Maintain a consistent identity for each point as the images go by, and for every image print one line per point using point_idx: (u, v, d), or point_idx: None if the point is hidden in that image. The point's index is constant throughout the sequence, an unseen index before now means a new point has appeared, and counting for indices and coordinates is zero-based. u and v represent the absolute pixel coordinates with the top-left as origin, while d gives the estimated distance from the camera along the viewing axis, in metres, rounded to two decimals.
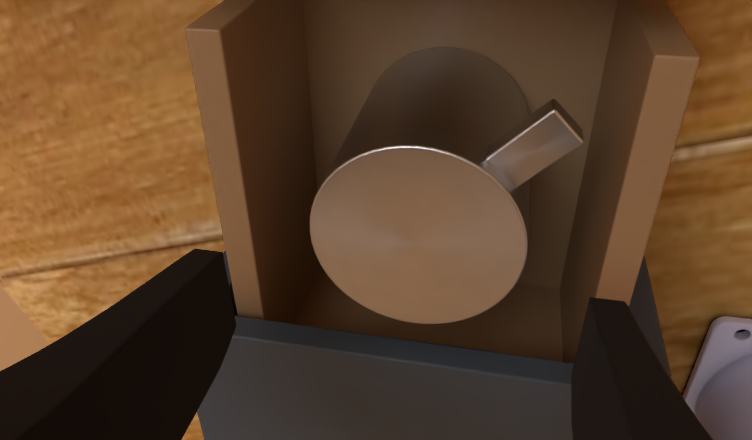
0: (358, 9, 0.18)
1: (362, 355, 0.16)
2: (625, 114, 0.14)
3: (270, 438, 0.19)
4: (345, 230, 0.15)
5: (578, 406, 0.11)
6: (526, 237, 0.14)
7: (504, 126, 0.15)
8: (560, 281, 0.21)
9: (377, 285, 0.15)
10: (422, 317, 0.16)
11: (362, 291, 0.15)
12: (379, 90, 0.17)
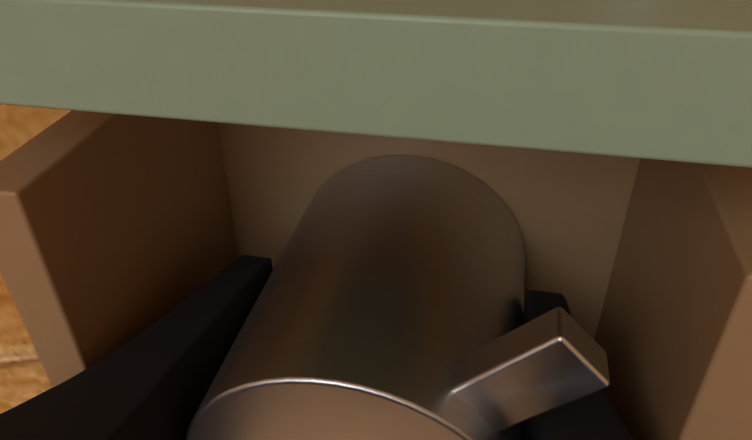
0: None
1: None
2: (678, 318, 0.08)
3: None
4: None
5: None
6: None
7: (483, 302, 0.10)
8: None
9: None
10: None
11: None
12: (308, 226, 0.12)
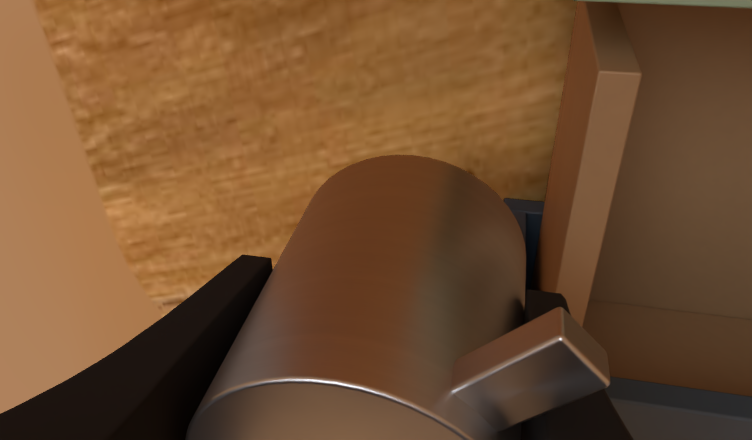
0: (669, 39, 0.17)
1: (712, 414, 0.15)
2: None
3: None
4: None
5: None
6: None
7: (483, 302, 0.10)
8: None
9: None
10: None
11: None
12: (309, 225, 0.12)
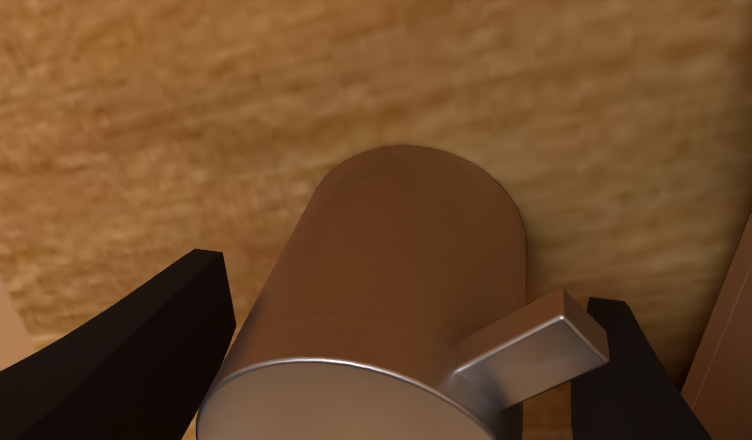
0: None
1: None
2: None
3: None
4: None
5: (578, 406, 0.11)
6: None
7: (485, 287, 0.10)
8: None
9: None
10: None
11: None
12: (314, 214, 0.12)
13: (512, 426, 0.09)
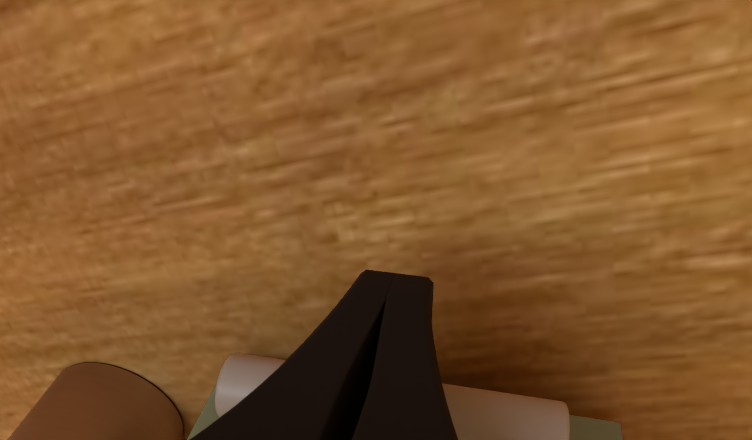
0: None
1: None
2: None
3: None
4: None
5: None
6: None
7: None
8: None
9: None
10: None
11: None
12: (30, 412, 0.21)
13: None
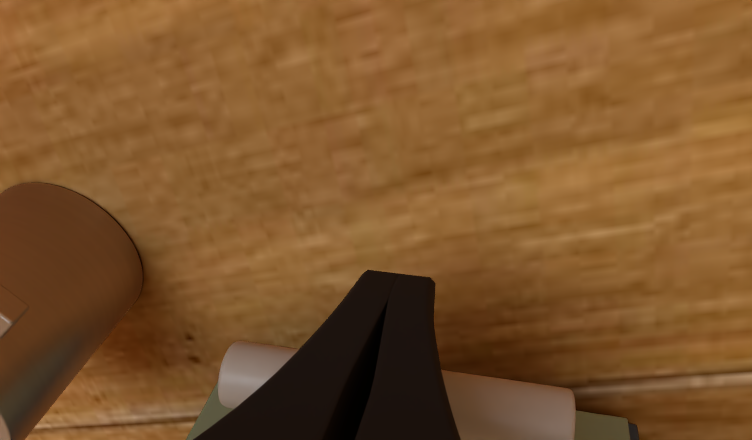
0: None
1: None
2: None
3: None
4: None
5: None
6: None
7: (22, 281, 0.15)
8: None
9: None
10: None
11: None
12: None
13: None
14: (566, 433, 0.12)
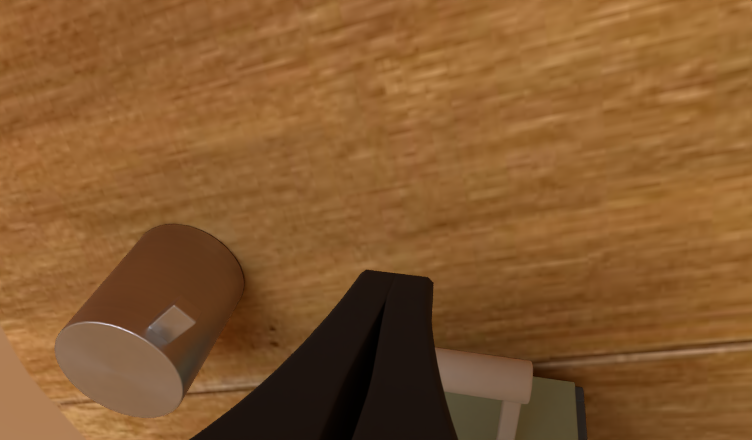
0: None
1: None
2: None
3: None
4: (77, 363, 0.23)
5: None
6: (177, 372, 0.22)
7: (183, 294, 0.24)
8: None
9: (106, 394, 0.24)
10: (138, 413, 0.24)
11: (98, 397, 0.24)
12: (123, 259, 0.26)
13: (177, 350, 0.23)
14: (527, 386, 0.20)
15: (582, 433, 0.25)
